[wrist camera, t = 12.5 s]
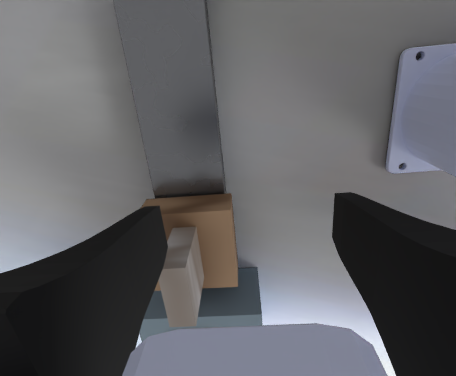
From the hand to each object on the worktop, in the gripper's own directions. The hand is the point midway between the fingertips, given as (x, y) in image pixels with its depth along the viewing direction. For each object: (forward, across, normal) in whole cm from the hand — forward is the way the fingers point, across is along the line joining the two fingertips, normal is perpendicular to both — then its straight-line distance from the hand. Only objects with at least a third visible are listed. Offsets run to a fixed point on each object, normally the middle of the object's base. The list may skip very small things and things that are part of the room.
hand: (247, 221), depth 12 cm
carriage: (+8, +4, +5) cm, 10 cm away
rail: (+9, +4, -1) cm, 10 cm away
